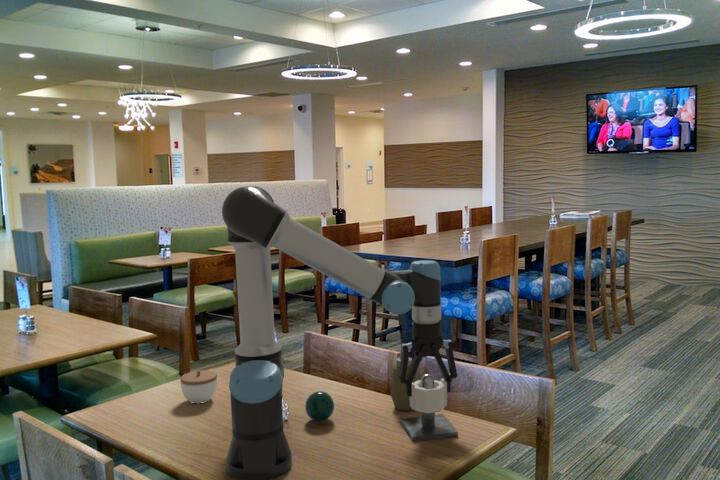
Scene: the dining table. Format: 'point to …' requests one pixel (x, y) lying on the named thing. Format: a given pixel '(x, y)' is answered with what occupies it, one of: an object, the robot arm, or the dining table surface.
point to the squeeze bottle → (400, 387)
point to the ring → (429, 397)
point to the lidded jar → (199, 385)
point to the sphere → (319, 406)
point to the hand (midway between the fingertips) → (428, 405)
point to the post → (428, 421)
